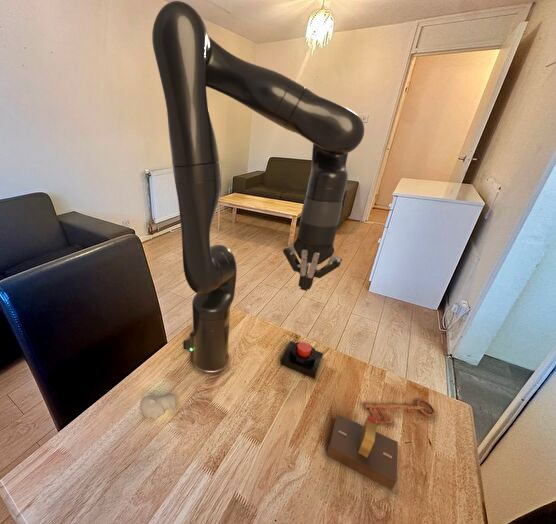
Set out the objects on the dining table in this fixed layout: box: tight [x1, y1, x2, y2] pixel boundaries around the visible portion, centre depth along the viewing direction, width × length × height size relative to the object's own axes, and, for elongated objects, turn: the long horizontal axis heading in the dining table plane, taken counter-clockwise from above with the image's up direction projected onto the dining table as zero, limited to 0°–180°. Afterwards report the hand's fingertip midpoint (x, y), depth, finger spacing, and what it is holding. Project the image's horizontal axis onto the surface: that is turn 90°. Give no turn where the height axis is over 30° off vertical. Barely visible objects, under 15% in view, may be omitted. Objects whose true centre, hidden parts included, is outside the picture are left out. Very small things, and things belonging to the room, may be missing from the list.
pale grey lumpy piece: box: [139, 392, 177, 420], centre depth 63 cm, size 4×8×5 cm
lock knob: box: [358, 414, 378, 457], centre depth 53 cm, size 5×2×5 cm, turn 147°
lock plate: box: [326, 413, 399, 491], centre depth 55 cm, size 11×8×3 cm
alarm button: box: [296, 341, 312, 357], centre depth 75 cm, size 4×4×2 cm
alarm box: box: [280, 340, 324, 380], centre depth 76 cm, size 9×8×4 cm
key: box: [363, 399, 436, 424], centre depth 64 cm, size 6×1×15 cm
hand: (304, 288), depth 67 cm, fingers closed
